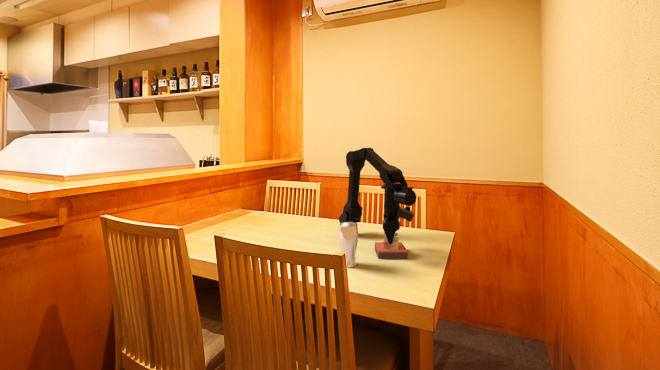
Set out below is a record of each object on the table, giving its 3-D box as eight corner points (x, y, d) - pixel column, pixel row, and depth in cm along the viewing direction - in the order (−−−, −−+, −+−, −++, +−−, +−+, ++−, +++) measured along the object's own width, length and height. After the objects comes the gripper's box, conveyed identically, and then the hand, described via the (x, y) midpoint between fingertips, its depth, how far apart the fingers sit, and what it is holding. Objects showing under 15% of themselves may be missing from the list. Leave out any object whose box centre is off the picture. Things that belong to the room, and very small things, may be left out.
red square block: (378, 260, 125) (378, 251, 125) (374, 250, 136) (374, 242, 136) (407, 260, 125) (407, 251, 125) (401, 250, 136) (401, 242, 136)
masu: (383, 248, 128) (383, 236, 127) (383, 244, 133) (384, 232, 133) (398, 249, 127) (398, 236, 126) (397, 244, 132) (398, 232, 132)
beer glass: (345, 259, 124) (345, 220, 122) (361, 263, 120) (361, 223, 118) (334, 265, 119) (334, 224, 117) (351, 269, 115) (351, 227, 113)
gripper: (414, 207, 117) (413, 249, 119) (411, 197, 135) (410, 234, 137) (383, 205, 119) (382, 247, 121) (384, 196, 137) (383, 233, 139)
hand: (390, 240), depth 130 cm, fingers open, 9 cm apart
